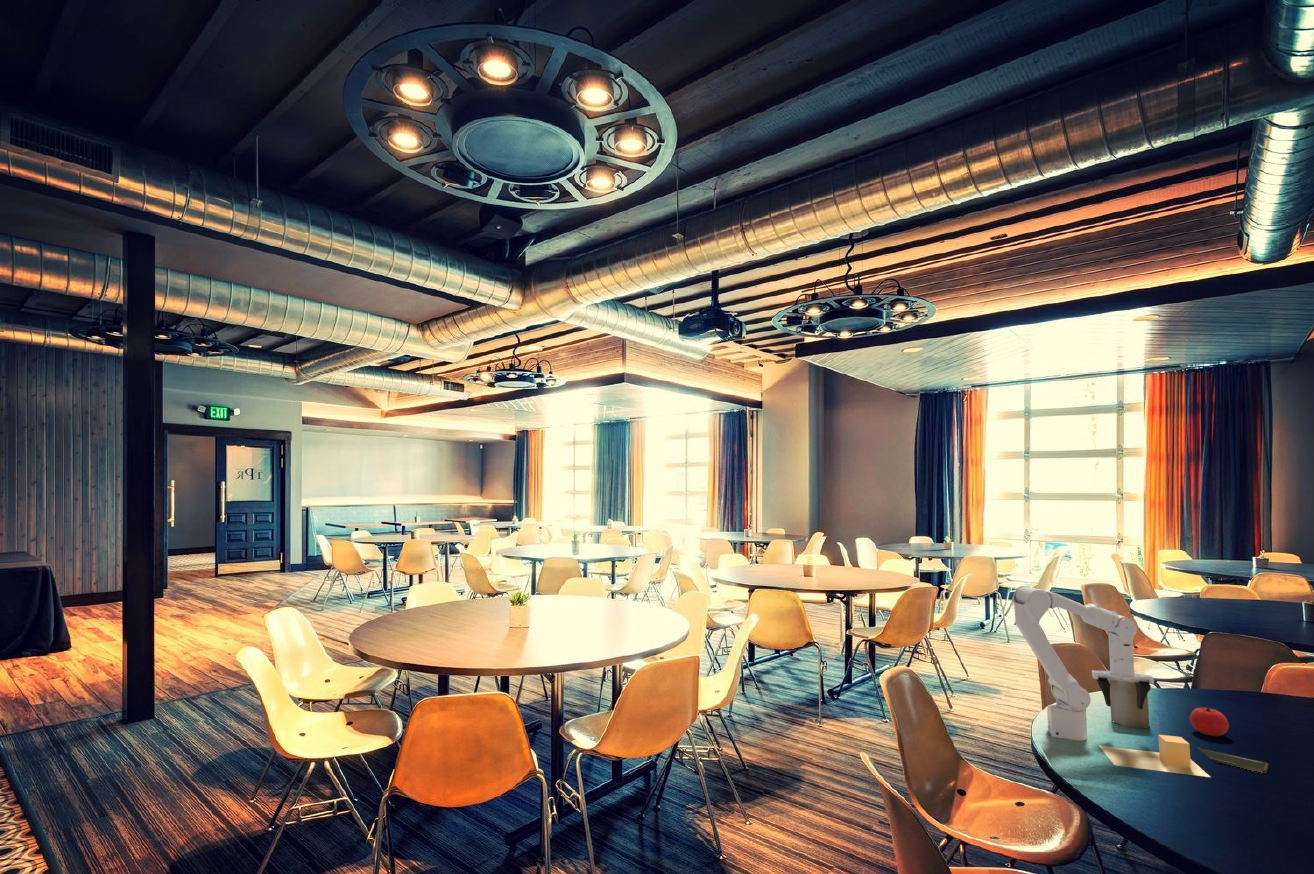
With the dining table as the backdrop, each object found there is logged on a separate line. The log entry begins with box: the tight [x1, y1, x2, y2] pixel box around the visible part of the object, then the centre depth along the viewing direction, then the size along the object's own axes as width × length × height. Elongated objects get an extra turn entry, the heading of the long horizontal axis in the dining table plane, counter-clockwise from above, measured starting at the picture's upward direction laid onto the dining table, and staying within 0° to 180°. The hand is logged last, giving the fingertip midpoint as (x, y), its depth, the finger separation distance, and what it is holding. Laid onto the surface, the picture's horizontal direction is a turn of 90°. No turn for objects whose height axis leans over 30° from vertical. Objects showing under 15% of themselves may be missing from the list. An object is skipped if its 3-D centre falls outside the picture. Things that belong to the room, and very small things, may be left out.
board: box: [1098, 745, 1211, 778], centre depth 171 cm, size 20×14×4 cm
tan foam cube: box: [1157, 734, 1191, 769], centre depth 169 cm, size 5×5×6 cm
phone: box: [1196, 746, 1269, 774], centre depth 173 cm, size 8×1×15 cm
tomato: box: [1189, 706, 1230, 737], centre depth 193 cm, size 9×9×8 cm
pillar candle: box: [1108, 680, 1150, 729], centre depth 202 cm, size 10×10×15 cm
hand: (1123, 706), depth 188 cm, fingers open, 7 cm apart
